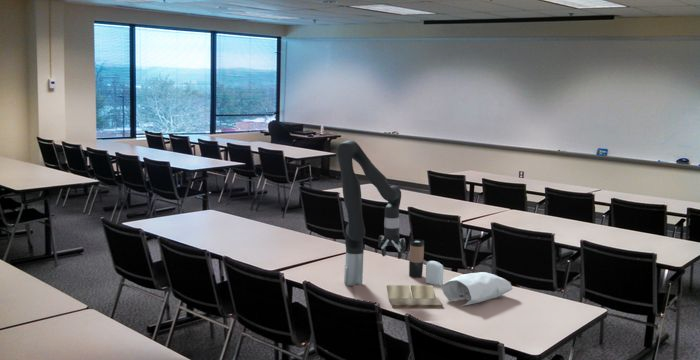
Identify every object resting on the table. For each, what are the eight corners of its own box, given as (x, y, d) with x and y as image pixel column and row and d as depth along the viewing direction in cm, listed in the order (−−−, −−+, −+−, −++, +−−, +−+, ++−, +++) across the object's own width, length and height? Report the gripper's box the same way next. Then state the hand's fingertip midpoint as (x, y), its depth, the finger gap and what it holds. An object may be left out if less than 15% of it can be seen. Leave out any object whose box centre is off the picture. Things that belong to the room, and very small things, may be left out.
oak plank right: (413, 300, 308) (413, 298, 308) (410, 287, 316) (410, 285, 315) (435, 300, 310) (436, 298, 309) (432, 287, 317) (432, 285, 316)
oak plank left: (388, 300, 307) (389, 298, 306) (386, 287, 315) (386, 285, 314) (411, 300, 308) (411, 298, 308) (408, 287, 316) (408, 285, 315)
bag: (518, 293, 319) (479, 291, 294) (490, 313, 328) (450, 313, 303) (499, 261, 329) (460, 257, 304) (472, 282, 338) (433, 280, 313)
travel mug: (423, 275, 354) (425, 240, 351) (420, 278, 347) (422, 243, 344) (410, 273, 356) (412, 238, 353) (407, 277, 349) (408, 241, 346)
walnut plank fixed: (392, 307, 298) (392, 304, 297) (389, 301, 306) (389, 298, 306) (442, 307, 300) (442, 304, 300) (438, 301, 309) (438, 298, 309)
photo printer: (424, 282, 341) (425, 259, 339) (429, 280, 344) (430, 258, 342) (438, 287, 333) (439, 264, 332) (443, 286, 336) (445, 263, 334)
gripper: (375, 225, 317) (375, 257, 320) (401, 229, 311) (401, 261, 313) (382, 222, 324) (382, 253, 327) (408, 225, 317) (407, 257, 320)
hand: (391, 257), depth 320 cm, fingers open, 8 cm apart
